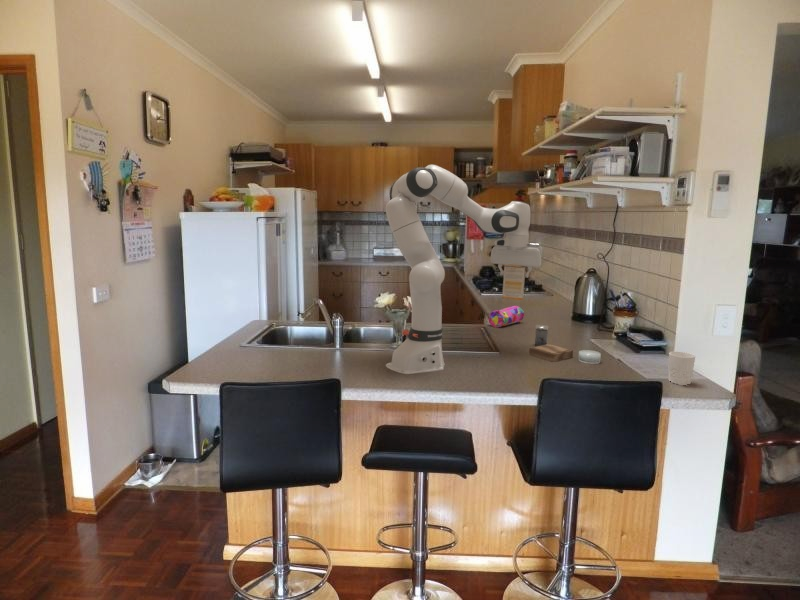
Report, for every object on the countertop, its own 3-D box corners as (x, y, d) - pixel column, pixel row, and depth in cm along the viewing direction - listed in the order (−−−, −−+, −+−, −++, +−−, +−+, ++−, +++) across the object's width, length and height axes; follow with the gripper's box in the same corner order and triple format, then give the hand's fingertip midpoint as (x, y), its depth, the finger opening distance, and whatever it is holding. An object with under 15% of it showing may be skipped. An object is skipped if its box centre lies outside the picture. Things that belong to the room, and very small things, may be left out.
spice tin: (541, 348, 222) (542, 328, 221) (531, 345, 227) (532, 325, 225) (549, 346, 226) (551, 326, 224) (539, 344, 230) (541, 324, 228)
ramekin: (592, 365, 198) (593, 356, 198) (574, 360, 205) (574, 352, 204) (604, 362, 203) (605, 353, 203) (586, 357, 210) (586, 349, 209)
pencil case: (503, 329, 258) (503, 311, 257) (486, 326, 265) (487, 309, 263) (525, 323, 274) (526, 306, 273) (509, 320, 281) (510, 303, 279)
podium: (553, 362, 202) (553, 354, 201) (528, 355, 211) (529, 347, 211) (572, 357, 209) (573, 349, 208) (547, 351, 218) (548, 343, 218)
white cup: (670, 385, 176) (673, 356, 175) (663, 378, 184) (665, 350, 182) (695, 387, 175) (699, 358, 173) (687, 379, 183) (690, 352, 181)
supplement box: (523, 298, 215) (526, 266, 213) (522, 300, 211) (525, 268, 208) (503, 296, 218) (505, 265, 215) (501, 298, 213) (504, 266, 211)
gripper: (544, 243, 209) (541, 278, 212) (494, 240, 217) (491, 273, 219) (542, 244, 204) (539, 279, 206) (490, 240, 211) (488, 274, 214)
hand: (514, 276), depth 213 cm, fingers closed on supplement box, 8 cm apart
